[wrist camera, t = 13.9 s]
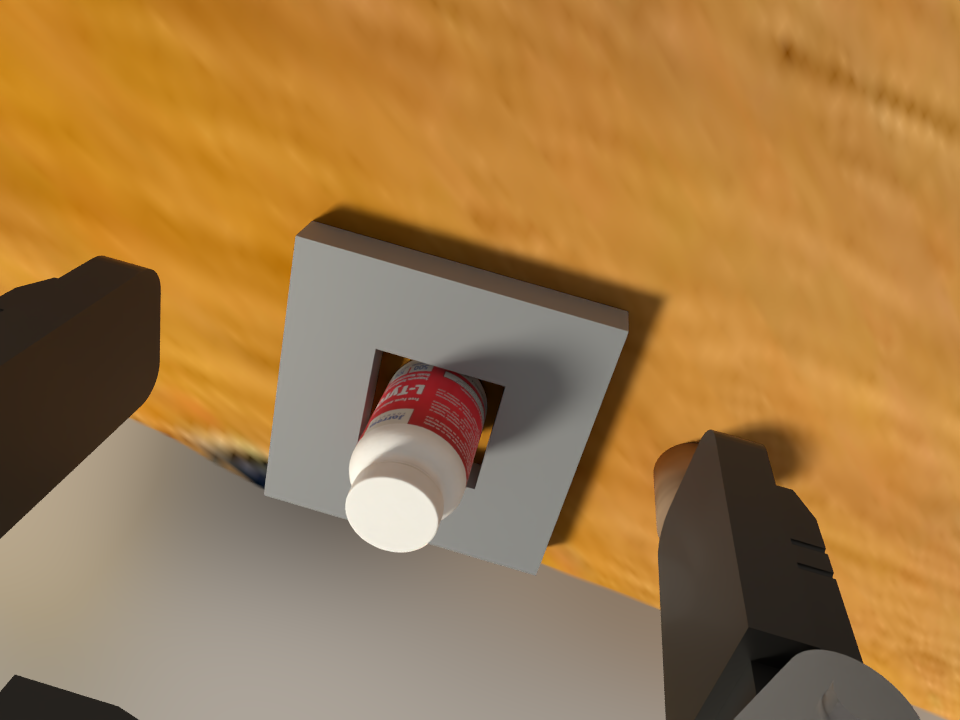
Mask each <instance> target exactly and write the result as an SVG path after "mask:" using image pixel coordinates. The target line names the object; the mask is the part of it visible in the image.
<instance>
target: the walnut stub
mask: <svg viewBox="0 0 960 720" xmlns="http://www.w3.org/2000/svg"><path fill="white" fill-rule="evenodd" d="M698 444H699V443H684V444H679V445H676V446H674V447H672V448H670V449H668V450H667V451H665V452H664V453H663V454H662V455H661V456H660V457H659V459H658V460H657V462H656V464H655V467H654V489H655V505H656V521H657V532H658V536H659V539H660V535H661V531H662V527H663V523H664V520H665V517H666V515H667V512H668V510H669V508H670V505H671V503H672V501H673V499H674V497H675V494H676V492H677V490H678V488H679V486H680V484H681V481H682V479H683V477H684V475H685V473H686V470H687V468H688V466H689V464H690V462H691V459H692V457H693V455H694V453H695V451H696V448H697V446H698Z"/></svg>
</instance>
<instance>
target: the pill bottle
mask: <svg viewBox="0 0 960 720" xmlns="http://www.w3.org/2000/svg"><path fill="white" fill-rule="evenodd" d="M486 414H487V398H486V394H485V391H484V389H483V387H482V385H481V383H480V381H479V380H478V379H477V378H474V377H471V376H467V375H464V374H460V373H457V372H454V371H450V370H447V369H443V368H440V367H436V366H433V365H430V364H426V363H423V362H419V361H416V360H412V361H410V362H408V363H407V364H405V365H404V366H402V367H401V368H400V369H399V370H398V371H397V372H396V373H395V374H394V376H393V377H392V379H391V381H390V382H389V384H388V386H387V388H386V390H385V392H384V394H383V395H382V397H381V399H380V401H379V403H378V405H377V407H376V409H375V411H374V413H373V414H372V416H371V418H370V420H369V422H368V424H367V426H366V428H365V430H364V432H363V433H362V435H361V437H360V439H359V441H358V443H357V445H356V447H355V449H354V451H353V453H352V456H351V459H350V464H349V477H350V483H351V489H350V491H349V493H348V495H347V498H346V503H345V510H346V515H347V518H348V521H349V523H350V524H351V526H352V528H353V529H354V531H355V532H356V533H357V534H358V535H359V536H360V537H361V538H362V539H364V540H365V541H366V542H368V543H370V544H371V545H373V546H375V547H378V548H380V549H383V550H387V551H392V552H410V551H414V550H417V549H420V548H422V547H424V546H425V545H427V544H428V543H429V542H430V541H431V540H432V539H433V538H434V536H435V534H436V532H437V530H438V527H439V524H440V521H441V520H442V519H444V518H446V517H447V516H448V515H450V514H451V513H452V512H453V511H454V510H455V508H456V507H457V506H458V505H459V503H460V501H461V499H462V497H463V494H464V491H465V488H466V485H467V481H468V478H469V474H470V471H471V467H472V464H473V460H474V457H475V453H476V450H477V447H478V443H479V440H480V436H481V433H482V429H483V426H484V423H485V419H486Z"/></svg>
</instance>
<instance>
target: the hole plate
mask: <svg viewBox="0 0 960 720" xmlns="http://www.w3.org/2000/svg"><path fill="white" fill-rule="evenodd" d="M628 332H629V321H628V311H625V310H621V309H618V308H614V307H611V306H607V305H604V304H601V303H597V302H594V301H590V300H587V299H583V298H580V297H576V296H573V295H569V294H566V293H562V292H559V291H555V290H552V289H548V288H545V287H541V286H538V285H534V284H531V283H527V282H524V281H520V280H517V279H513V278H510V277H506V276H503V275H500V274H496V273H493V272H489V271H486V270H482V269H479V268H475V267H472V266H468V265H465V264H461V263H458V262H454V261H451V260H447V259H444V258H440V257H437V256H433V255H430V254H426V253H423V252H419V251H416V250H412V249H409V248H406V247H402V246H399V245H395V244H392V243H388V242H385V241H381V240H378V239H374V238H371V237H367V236H364V235H360V234H357V233H353V232H350V231H346V230H343V229H339V228H336V227H332V226H329V225H325V224H322V223H318V222H315V221H312V222H310V223H309V224H308V225H307V226H306V227H305V228H304V229H303V230H302V231H300V232H299V233H298V234H297V235H296V238H295V246H294V254H293V262H292V270H291V279H290V287H289V295H288V303H287V311H286V319H285V328H284V336H283V344H282V352H281V360H280V369H279V377H278V385H277V393H276V401H275V409H274V418H273V426H272V434H271V442H270V450H269V458H268V467H267V475H266V483H265V491H264V495H265V496H269V497H273V498H276V499H279V500H283V501H286V502H289V503H292V504H296V505H300V506H303V507H306V508H310V509H313V510H316V511H319V512H323V513H326V514H330V515H333V516H336V517H340V518H343V519H346V520H348V518H347V515H346V510H345V503H346V498H347V495H348V493H349V491H350V489H351V483H350V477H349V464H350V459H351V456H352V453H353V451H354V449H355V447H356V445H357V443H358V441H359V439H360V437H361V435H362V433H363V432H364V430H365V428H366V426H367V424H368V422H369V419H370V414H371V409H372V404H373V399H374V394H375V389H376V384H377V379H378V374H379V369H380V364H381V359H382V354H383V351H385V352H388V353H392V354H395V355H399V356H402V357H405V358H409V359H412V360H416V361H419V362H423V363H426V364H430V365H433V366H436V367H440V368H443V369H447V370H450V371H454V372H457V373H460V374H464V375H467V376H471V377H474V378H478V379H481V380H485V381H488V382H491V383H495V384H498V385H502V386H505V388H504V391H503V395H502V398H501V401H500V405H499V408H498V411H497V415H496V418H495V421H494V425H493V428H492V431H491V435H490V438H489V441H488V445H487V448H486V451H485V455H484V458H483V461H482V465H480V464H477V463H473V464H472V467H471V471H470V474H469V478H468V481H467V485H466V488H465V491H464V494H463V497H462V499H461V501H460V503H459V505H458V506H457V507H456V508H455V510H454V511H453V512H452V513H451V514H450V515H448V516H447V517H446V518H444V519H442V520H441V521H440V524H439V527H438V530H437V532H436V534H435V536H434V538H433V539H432V540H431V541H430V542H429V543H428V544H431V545H434V546H438V547H441V548H444V549H447V550H451V551H454V552H458V553H461V554H464V555H468V556H471V557H474V558H478V559H481V560H485V561H488V562H491V563H495V564H498V565H501V566H505V567H508V568H512V569H515V570H518V571H522V572H525V573H528V574H532V575H536V574H537V571H538V569H539V566H540V563H541V561H542V558H543V555H544V553H545V550H546V548H547V545H548V542H549V540H550V537H551V534H552V532H553V529H554V527H555V524H556V521H557V519H558V516H559V513H560V511H561V508H562V506H563V503H564V500H565V498H566V495H567V492H568V490H569V487H570V485H571V482H572V479H573V477H574V474H575V471H576V469H577V466H578V463H579V461H580V458H581V456H582V453H583V450H584V448H585V445H586V442H587V440H588V437H589V435H590V432H591V429H592V427H593V424H594V421H595V419H596V416H597V414H598V411H599V408H600V406H601V403H602V400H603V398H604V395H605V393H606V390H607V387H608V385H609V382H610V379H611V377H612V374H613V372H614V369H615V366H616V364H617V361H618V358H619V356H620V353H621V351H622V348H623V345H624V343H625V340H626V337H627V335H628Z"/></svg>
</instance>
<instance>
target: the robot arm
mask: <svg viewBox="0 0 960 720" xmlns="http://www.w3.org/2000/svg"><path fill="white" fill-rule="evenodd" d="M160 301H161V286H160V280H159V277H158V275H157V273H156V272H155V271H154V270H152V269H148V268H145V267H141V266H138V265H134V264H131V263H127V262H124V261H120V260H117V259H113V258H109V257H106V256H97V257H95V258H93V259H91V260H89V261H87V262H86V263H84V264H82V265H81V266H79V267H77V268H75V269H74V270H72V271H70V272H69V273H67V274H65V275H63V276H62V277H60V278H51V279H48V280H44V281H40V282H36V283H32V284H28V285H25V286H21V287H17V288H14V289H13V290H11V291H9V292H7V293H5V294H4V295H2V296H0V538H1V537H2V536H4V535H5V534H6V533H7V532H8V531H9V530H10V529H11V528H12V527H13V526H14V525H15V524H16V523H17V522H18V521H19V520H21V519H22V518H23V516H25V515H26V514H27V513H28V512H29V511H30V510H31V509H32V508H33V507H34V506H35V505H36V504H37V503H38V502H40V501H41V500H42V499H43V498H44V497H45V496H46V495H47V494H48V493H49V492H50V491H51V490H52V489H53V488H54V487H56V486H57V484H59V483H60V482H61V481H62V480H63V479H64V478H65V477H66V476H67V475H68V474H69V473H70V472H71V471H73V470H74V469H75V468H76V467H77V466H78V465H79V464H80V463H81V462H82V461H83V460H84V459H85V458H86V457H87V456H88V455H90V454H91V453H92V452H93V451H94V450H95V449H96V448H97V447H98V446H99V445H100V444H101V443H102V442H103V441H104V440H105V439H106V438H108V437H109V436H110V435H111V434H112V433H113V432H114V431H115V430H116V429H117V428H118V427H119V426H120V425H121V424H122V423H123V422H125V421H126V420H127V419H128V418H129V417H130V416H131V415H132V414H133V413H134V412H135V411H136V410H137V409H138V408H139V407H140V406H141V405H142V404H143V403H144V402H145V401H146V400H147V398H148V397H149V395H150V393H151V391H152V389H153V387H154V385H155V382H156V379H157V375H158V371H159V363H160ZM825 549H826V548H825V545H824V542H823V539H822V536H821V533H820V529H819V526H818V523H817V520H816V519H815V517H814V516H813V515H812V513H811V512H810V511H809V510H808V508H807V507H806V506H805V505H804V503H803V502H802V501H801V500H800V498H799V497H798V496H797V495H796V493H795V492H794V491H793V490H791V489H787V488H784V487H780V486H777V485H776V484H775V480H774V476H773V473H772V469H771V465H770V462H769V458H768V454H767V451H766V448H765V446H764V445H762V444H760V443H756V442H753V441H749V440H746V439H742V438H738V437H735V436H731V435H728V434H724V433H721V432H717V431H714V430H708V431H707V432H706V433H705V434H704V435H703V437H702V438H701V440H700V442H699V444H698V446H697V448H696V451H695V453H694V455H693V457H692V459H691V462H690V464H689V466H688V468H687V470H686V473H685V475H684V477H683V479H682V481H681V484H680V486H679V488H678V490H677V492H676V494H675V497H674V499H673V501H672V503H671V505H670V508H669V510H668V512H667V515H666V517H665V520H664V523H663V527H662V531H661V535H660V541H659V548H658V565H659V586H660V607H661V628H662V647H663V648H662V649H663V670H664V691H665V712H666V720H920V718H919V716H918V715H917V713H916V712H915V710H914V709H913V707H912V706H911V704H910V703H909V702H908V701H907V699H906V698H905V697H904V696H903V695H902V694H901V693H900V692H899V691H898V690H897V689H896V688H895V687H894V686H893V685H892V684H891V683H890V682H889V681H888V680H886V679H885V678H884V677H883V676H882V675H880V674H879V673H877V672H876V671H874V670H873V669H871V668H870V667H868V666H867V665H865V664H863V661H862V658H861V655H860V652H859V649H858V646H857V643H856V640H855V637H854V634H853V631H852V627H851V624H850V621H849V618H848V615H847V612H846V609H845V606H844V603H843V600H842V597H841V594H840V591H839V588H838V585H837V582H836V579H833V573H834V572H833V569H832V566H831V563H830V560H829V557H828V554H825ZM0 720H138V719H137V718H135V717H134V716H132V715H131V714H129V713H128V712H126V711H125V710H123V709H121V708H120V707H118V706H115V705H112V704H109V703H105V702H102V701H99V700H96V699H92V698H89V697H85V696H82V695H79V694H76V693H73V692H70V691H66V690H63V689H59V688H57V687H53V686H50V685H47V684H44V683H40V682H37V681H34V680H30V679H27V678H24V677H21V676H17V675H14V676H13V677H12V679H11V680H10V681H9V682H8V683H7V685H6V686H5V687H4V688H3V689H2V690H1V692H0Z"/></svg>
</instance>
